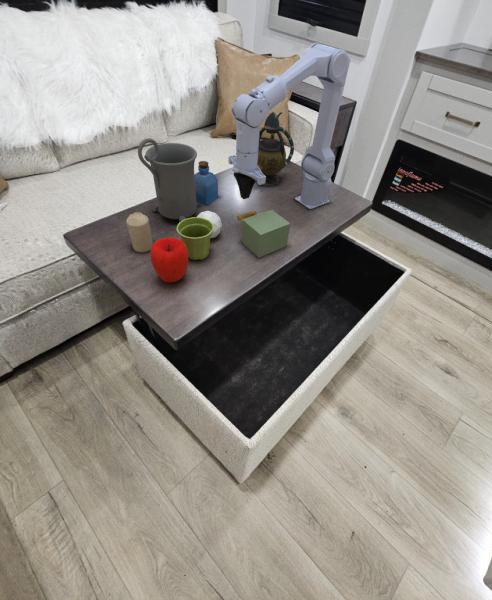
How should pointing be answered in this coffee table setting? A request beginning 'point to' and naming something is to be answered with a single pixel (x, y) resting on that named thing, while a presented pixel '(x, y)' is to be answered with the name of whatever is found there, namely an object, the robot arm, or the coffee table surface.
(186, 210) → the mug
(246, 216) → the drawer
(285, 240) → the sage green box
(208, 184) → the perfume bottle
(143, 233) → the candle
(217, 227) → the geometric ball
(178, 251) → the apple
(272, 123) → the teapot
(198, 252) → the plant pot
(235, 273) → the coffee table surface
